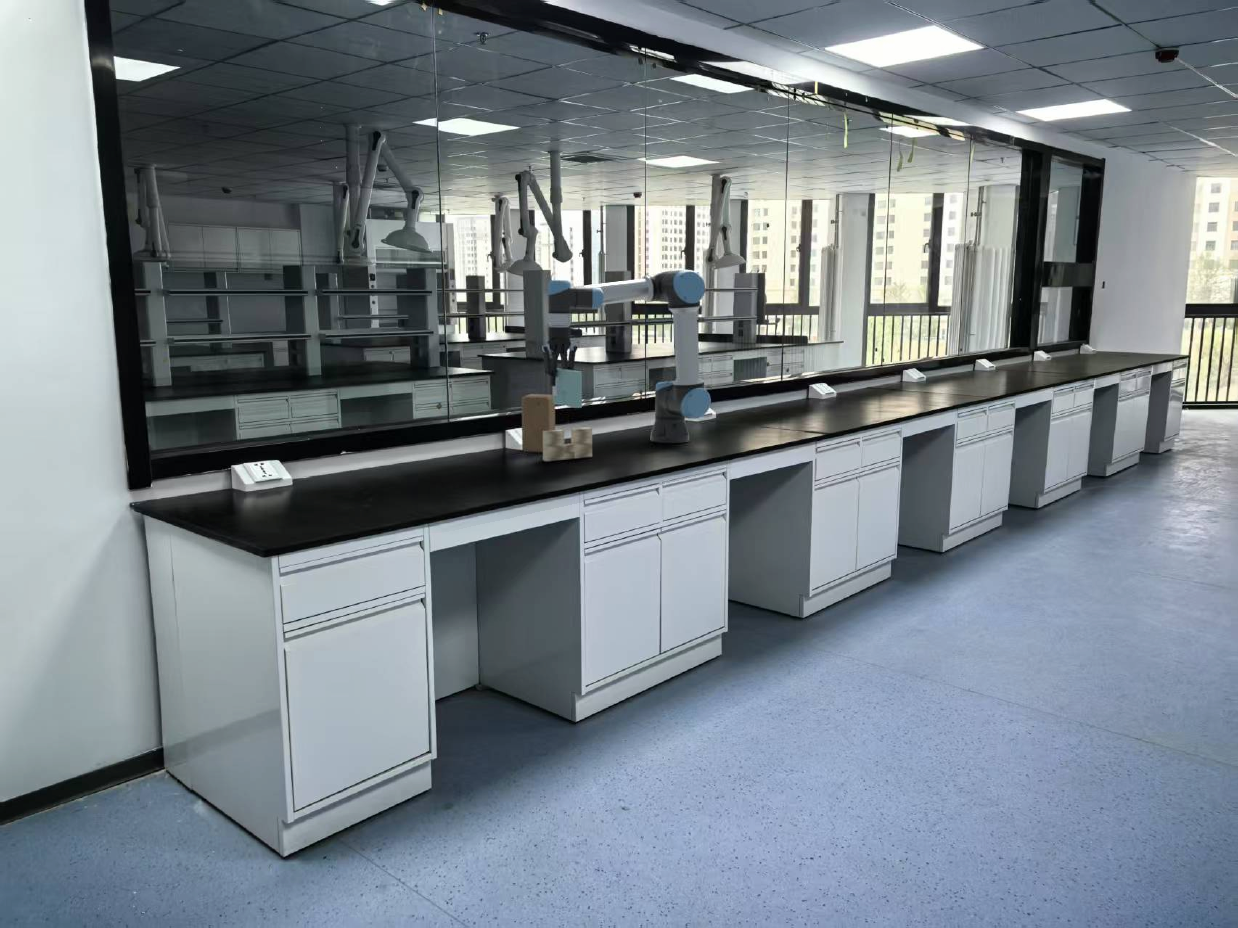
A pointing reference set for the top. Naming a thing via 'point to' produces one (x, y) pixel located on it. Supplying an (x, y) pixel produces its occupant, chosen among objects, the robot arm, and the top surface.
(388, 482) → the top surface
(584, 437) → the beige patterned panel
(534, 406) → the wooden block
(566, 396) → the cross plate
